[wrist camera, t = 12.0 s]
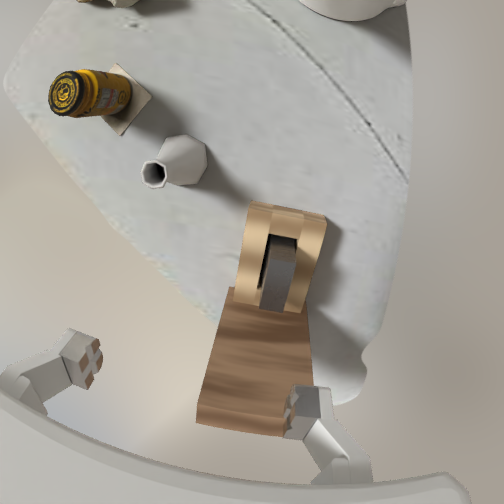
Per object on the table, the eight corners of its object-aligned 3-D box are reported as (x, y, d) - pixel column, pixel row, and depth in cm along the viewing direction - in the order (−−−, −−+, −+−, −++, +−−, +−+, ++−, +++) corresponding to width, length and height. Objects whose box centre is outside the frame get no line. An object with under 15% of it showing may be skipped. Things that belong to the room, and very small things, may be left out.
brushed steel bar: (272, 229, 41) (270, 258, 33) (293, 233, 41) (296, 263, 33) (262, 272, 45) (258, 308, 36) (282, 276, 45) (282, 313, 36)
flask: (213, 138, 37) (192, 146, 28) (203, 190, 40) (181, 213, 31) (162, 130, 37) (127, 136, 28) (154, 180, 40) (121, 200, 31)
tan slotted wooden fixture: (243, 199, 40) (207, 288, 20) (330, 216, 40) (374, 317, 20) (226, 307, 48) (196, 422, 28) (299, 320, 48) (304, 438, 28)
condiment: (116, 62, 32) (64, 53, 22) (152, 96, 35) (106, 93, 24) (86, 101, 35) (32, 105, 24) (120, 135, 37) (70, 147, 26)
